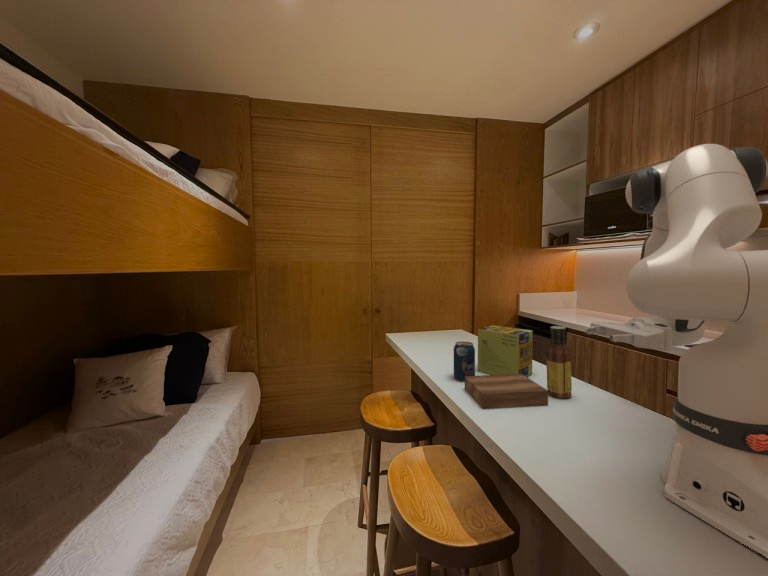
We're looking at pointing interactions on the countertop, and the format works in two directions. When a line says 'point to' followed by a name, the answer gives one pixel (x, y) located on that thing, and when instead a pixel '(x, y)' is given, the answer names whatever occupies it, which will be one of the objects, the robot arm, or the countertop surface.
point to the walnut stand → (505, 391)
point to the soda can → (464, 360)
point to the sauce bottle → (558, 364)
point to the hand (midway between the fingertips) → (598, 334)
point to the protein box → (505, 350)
